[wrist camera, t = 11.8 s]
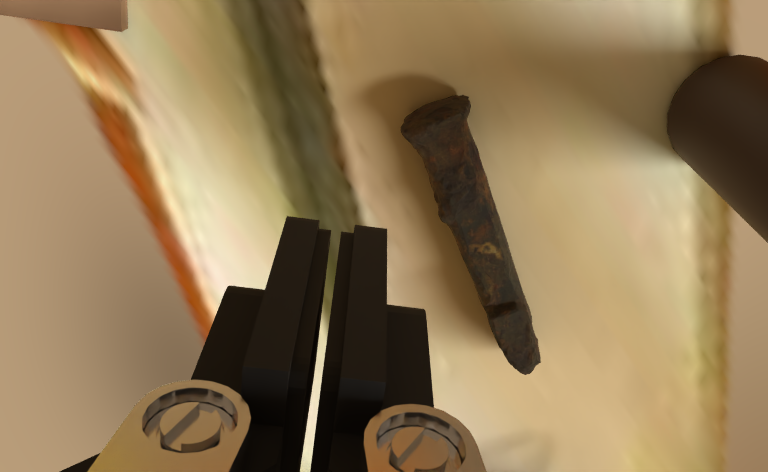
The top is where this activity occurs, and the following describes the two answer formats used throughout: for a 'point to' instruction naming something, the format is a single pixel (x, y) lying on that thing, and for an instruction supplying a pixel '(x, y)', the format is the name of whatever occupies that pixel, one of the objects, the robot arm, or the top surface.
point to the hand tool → (474, 222)
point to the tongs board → (71, 12)
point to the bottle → (727, 132)
